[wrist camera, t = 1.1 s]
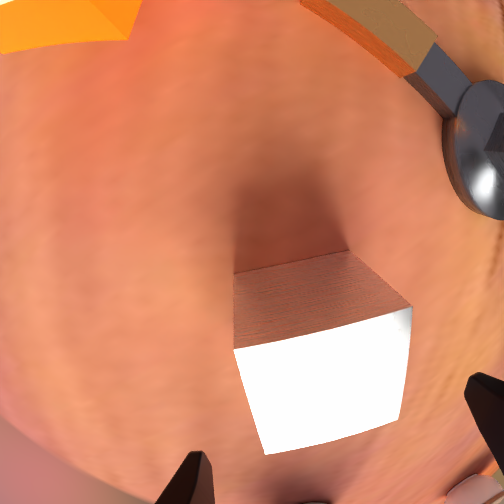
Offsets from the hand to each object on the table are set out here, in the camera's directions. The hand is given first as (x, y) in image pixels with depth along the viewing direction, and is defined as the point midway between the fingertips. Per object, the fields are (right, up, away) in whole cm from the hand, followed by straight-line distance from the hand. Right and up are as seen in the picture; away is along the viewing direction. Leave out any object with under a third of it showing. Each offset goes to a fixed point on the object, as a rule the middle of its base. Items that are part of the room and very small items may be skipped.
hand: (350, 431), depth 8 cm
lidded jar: (+31, -32, +20) cm, 49 cm away
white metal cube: (0, +2, +7) cm, 8 cm away
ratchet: (+7, +14, +4) cm, 16 cm away
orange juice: (-12, +20, +2) cm, 23 cm away
